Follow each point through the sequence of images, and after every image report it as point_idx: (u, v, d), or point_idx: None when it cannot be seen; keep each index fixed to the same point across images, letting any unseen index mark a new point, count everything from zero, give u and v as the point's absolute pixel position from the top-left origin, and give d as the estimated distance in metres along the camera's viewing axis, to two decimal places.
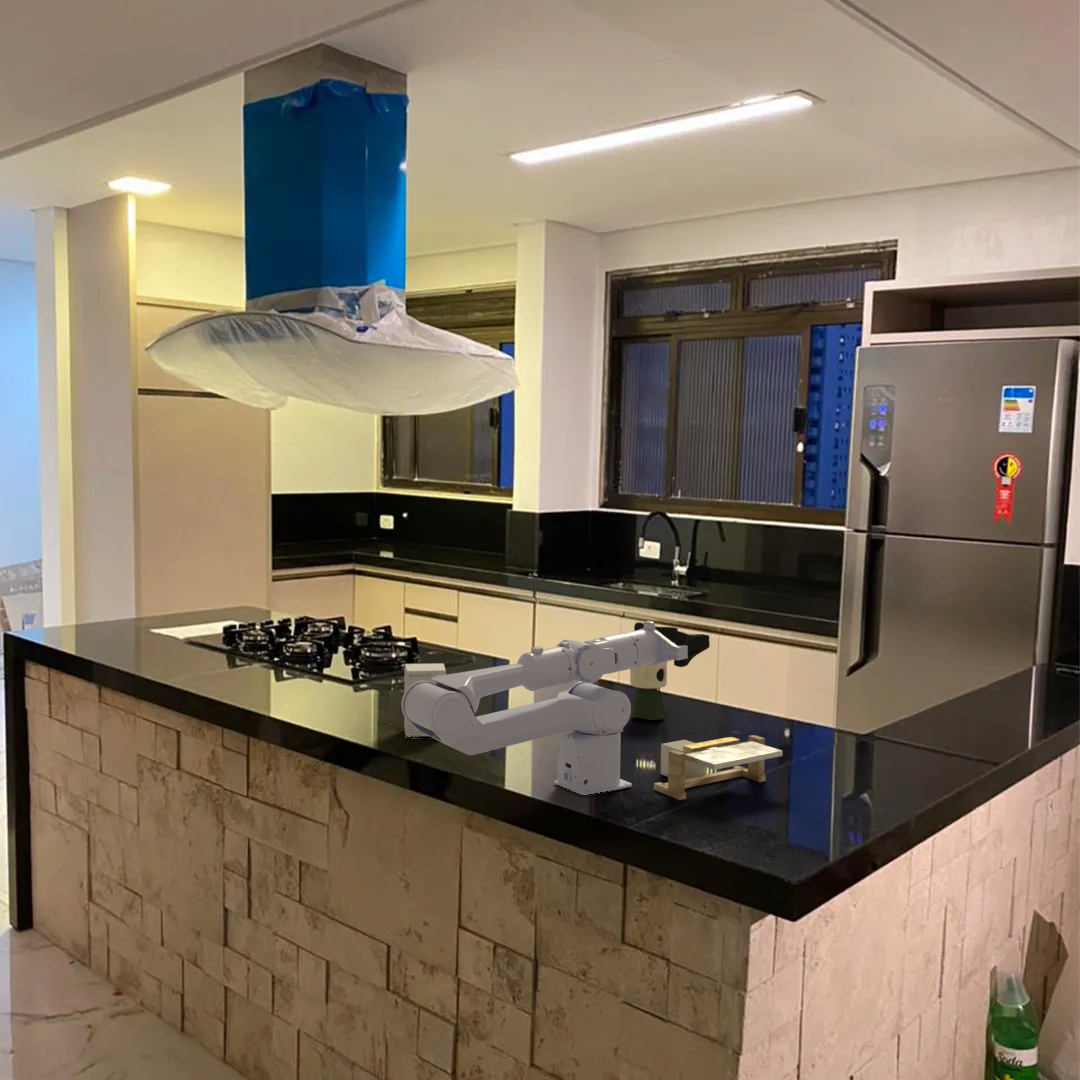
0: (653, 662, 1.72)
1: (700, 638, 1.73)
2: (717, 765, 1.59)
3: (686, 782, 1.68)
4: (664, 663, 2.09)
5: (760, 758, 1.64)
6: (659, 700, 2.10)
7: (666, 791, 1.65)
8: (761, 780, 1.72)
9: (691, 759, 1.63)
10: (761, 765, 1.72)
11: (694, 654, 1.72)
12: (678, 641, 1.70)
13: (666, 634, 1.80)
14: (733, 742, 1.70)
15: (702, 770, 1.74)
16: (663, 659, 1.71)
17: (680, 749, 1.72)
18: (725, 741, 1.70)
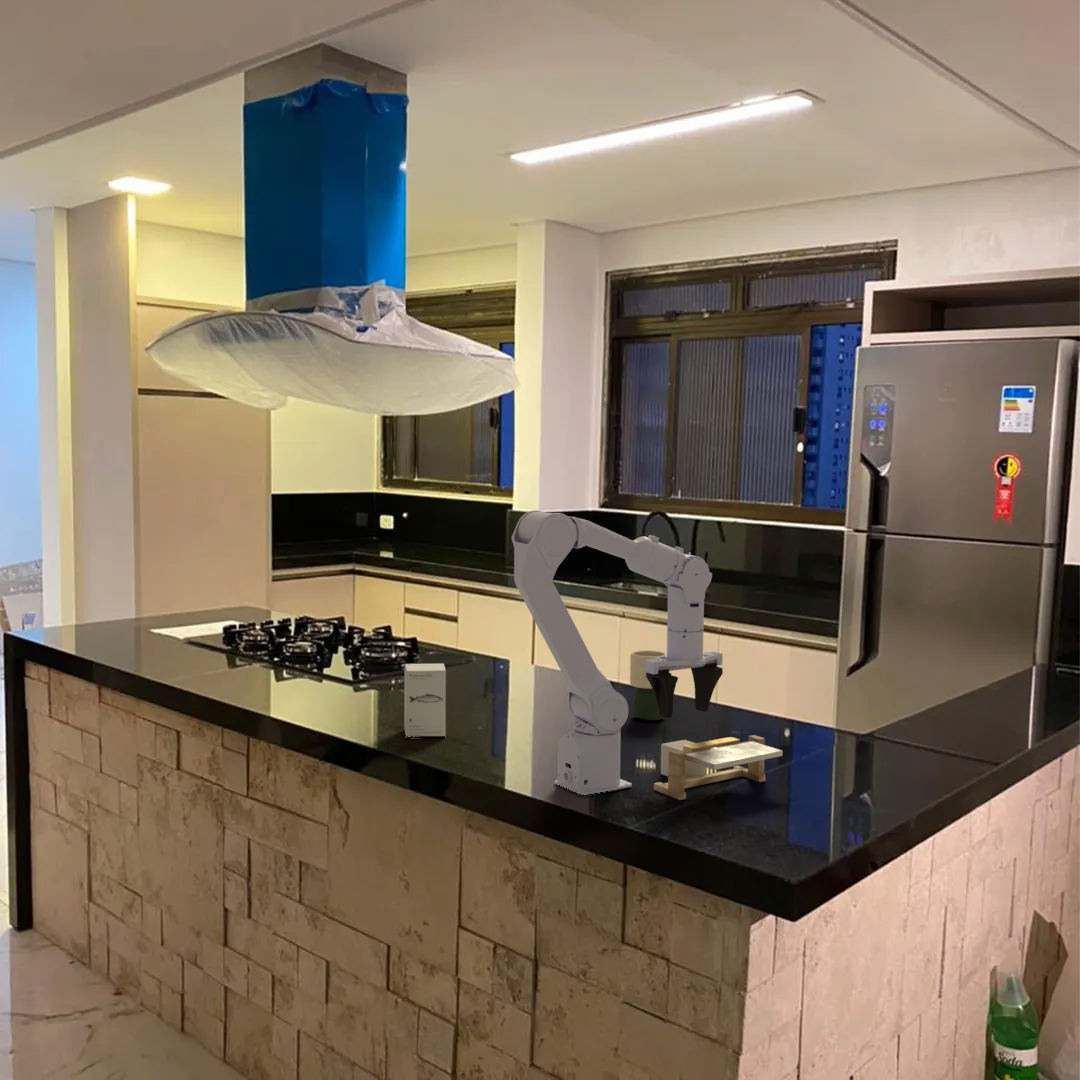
0: None
1: (666, 705, 1.71)
2: (717, 765, 1.59)
3: (686, 782, 1.68)
4: None
5: (760, 758, 1.64)
6: None
7: (666, 791, 1.65)
8: (761, 780, 1.72)
9: (691, 759, 1.63)
10: (761, 765, 1.72)
11: (654, 691, 1.72)
12: (667, 675, 1.70)
13: (702, 696, 1.76)
14: (733, 742, 1.70)
15: (702, 770, 1.74)
16: None
17: (680, 749, 1.72)
18: (725, 741, 1.70)
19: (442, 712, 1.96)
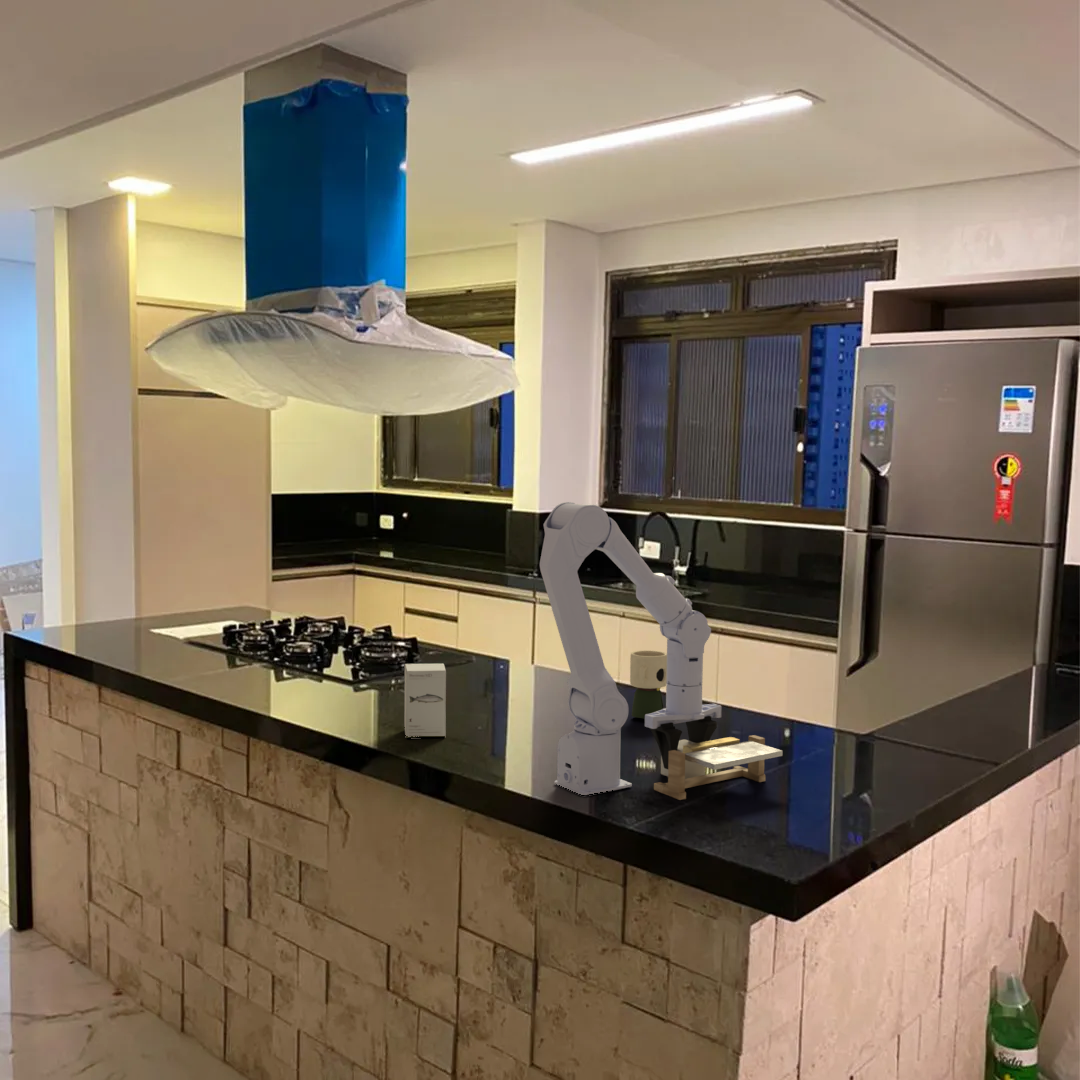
0: None
1: None
2: (717, 765, 1.59)
3: (686, 782, 1.68)
4: (664, 663, 2.09)
5: (760, 758, 1.64)
6: (659, 700, 2.10)
7: (666, 791, 1.65)
8: (761, 780, 1.72)
9: (691, 759, 1.63)
10: (761, 765, 1.72)
11: (658, 743, 1.74)
12: (671, 728, 1.71)
13: None
14: (733, 742, 1.70)
15: (702, 770, 1.74)
16: (662, 713, 1.74)
17: (680, 749, 1.72)
18: (725, 741, 1.70)
19: (442, 712, 1.96)
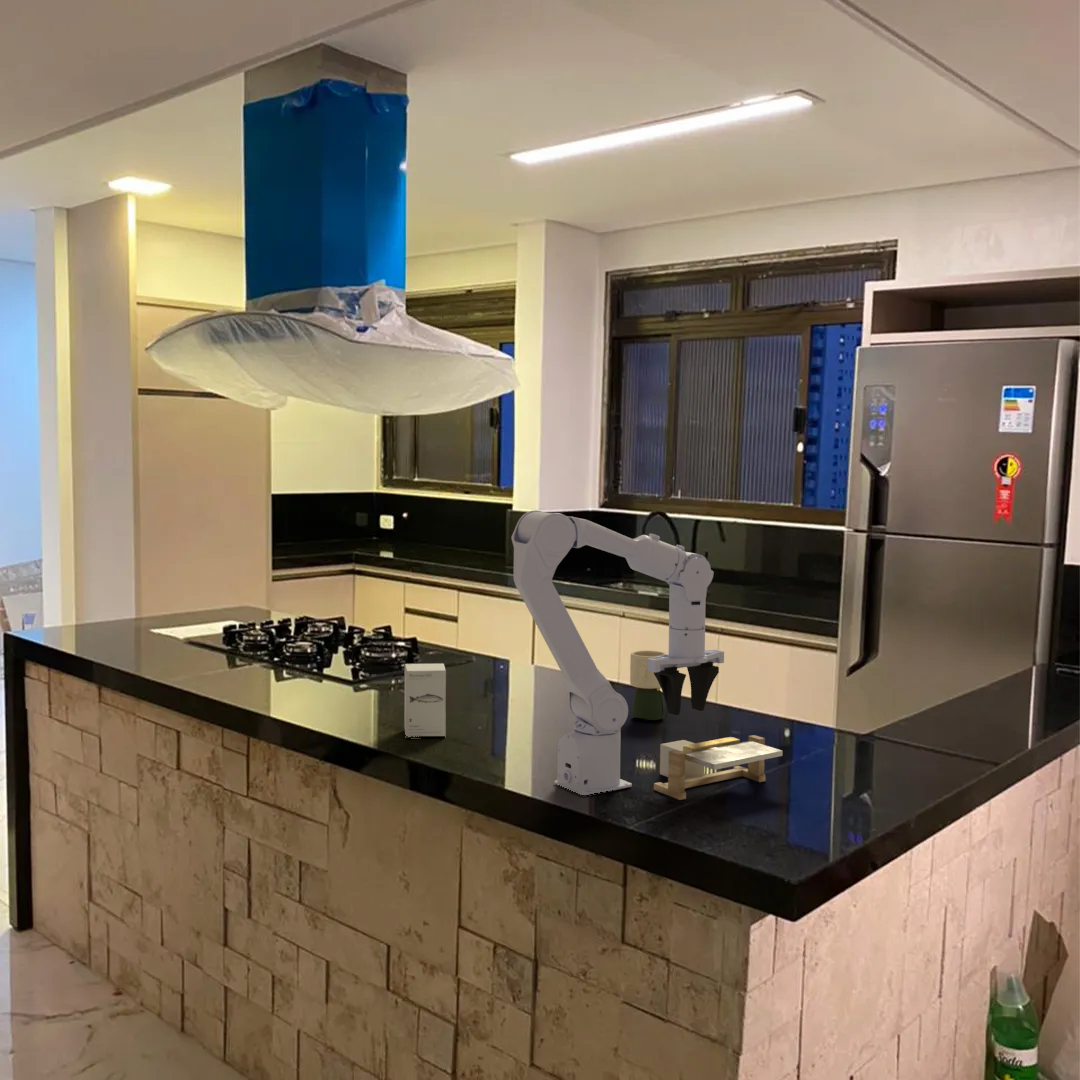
0: None
1: (674, 702, 1.71)
2: (717, 765, 1.59)
3: (686, 782, 1.68)
4: None
5: (760, 758, 1.64)
6: (659, 700, 2.10)
7: (666, 791, 1.65)
8: (761, 780, 1.72)
9: (691, 759, 1.63)
10: (761, 765, 1.72)
11: (662, 688, 1.73)
12: (674, 672, 1.71)
13: (698, 695, 1.75)
14: (733, 742, 1.70)
15: (701, 770, 1.74)
16: None
17: (679, 749, 1.72)
18: (725, 741, 1.70)
19: (442, 712, 1.96)
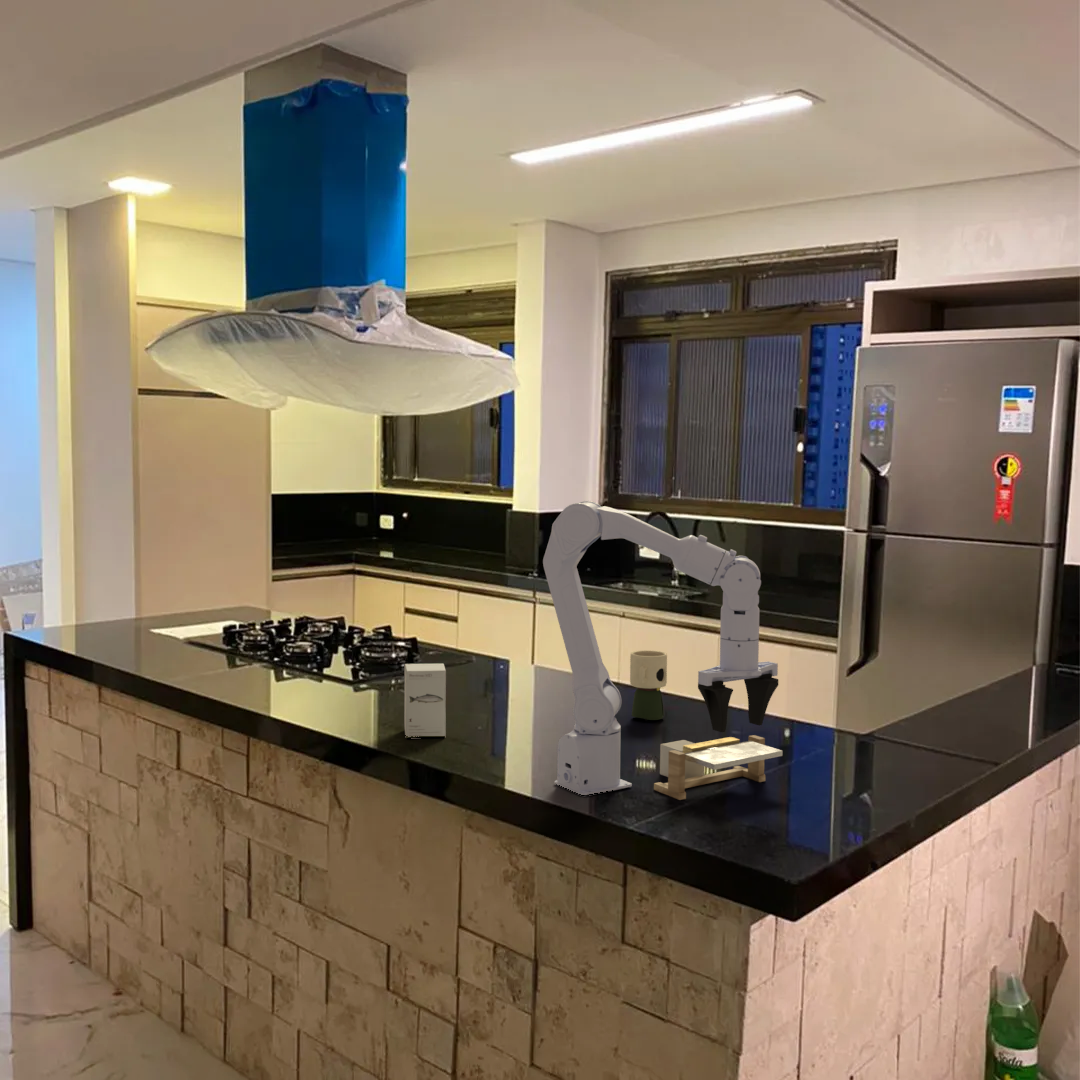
0: None
1: (720, 718, 1.61)
2: (717, 765, 1.59)
3: (686, 782, 1.68)
4: (664, 663, 2.09)
5: (760, 758, 1.64)
6: (659, 700, 2.10)
7: (666, 791, 1.65)
8: (761, 780, 1.72)
9: (691, 759, 1.63)
10: (761, 765, 1.72)
11: (707, 703, 1.62)
12: (721, 687, 1.60)
13: (756, 709, 1.66)
14: (733, 742, 1.70)
15: (701, 770, 1.74)
16: (715, 670, 1.63)
17: (679, 749, 1.72)
18: (725, 741, 1.70)
19: (442, 712, 1.96)
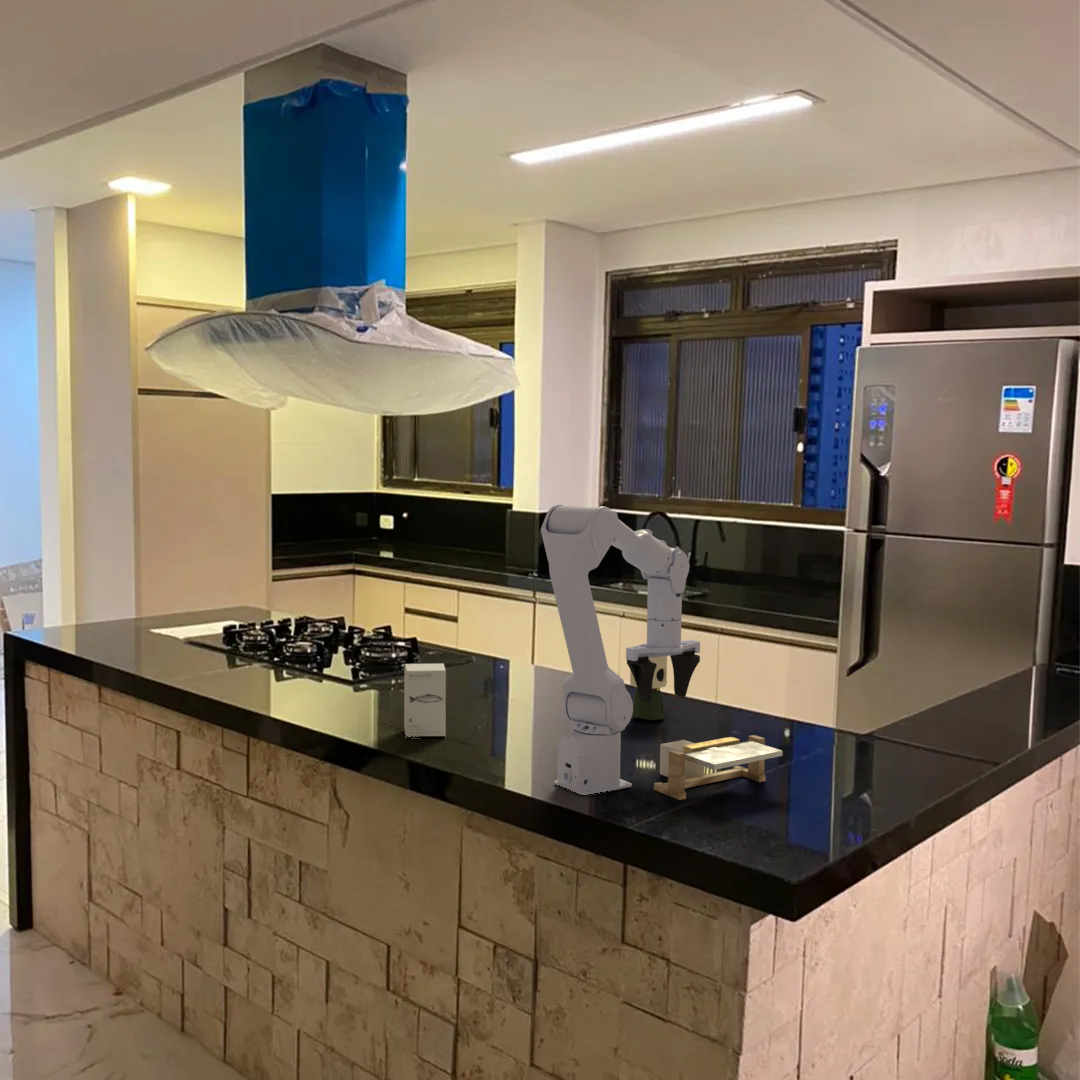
0: None
1: (646, 690, 1.80)
2: (717, 765, 1.59)
3: (686, 782, 1.68)
4: (664, 663, 2.09)
5: (760, 758, 1.64)
6: (659, 700, 2.10)
7: (666, 791, 1.65)
8: (761, 780, 1.72)
9: (691, 759, 1.63)
10: (761, 765, 1.72)
11: (635, 677, 1.81)
12: (646, 662, 1.79)
13: (680, 683, 1.85)
14: (733, 742, 1.70)
15: (701, 770, 1.74)
16: (643, 647, 1.82)
17: (679, 749, 1.72)
18: (725, 741, 1.70)
19: (442, 712, 1.96)
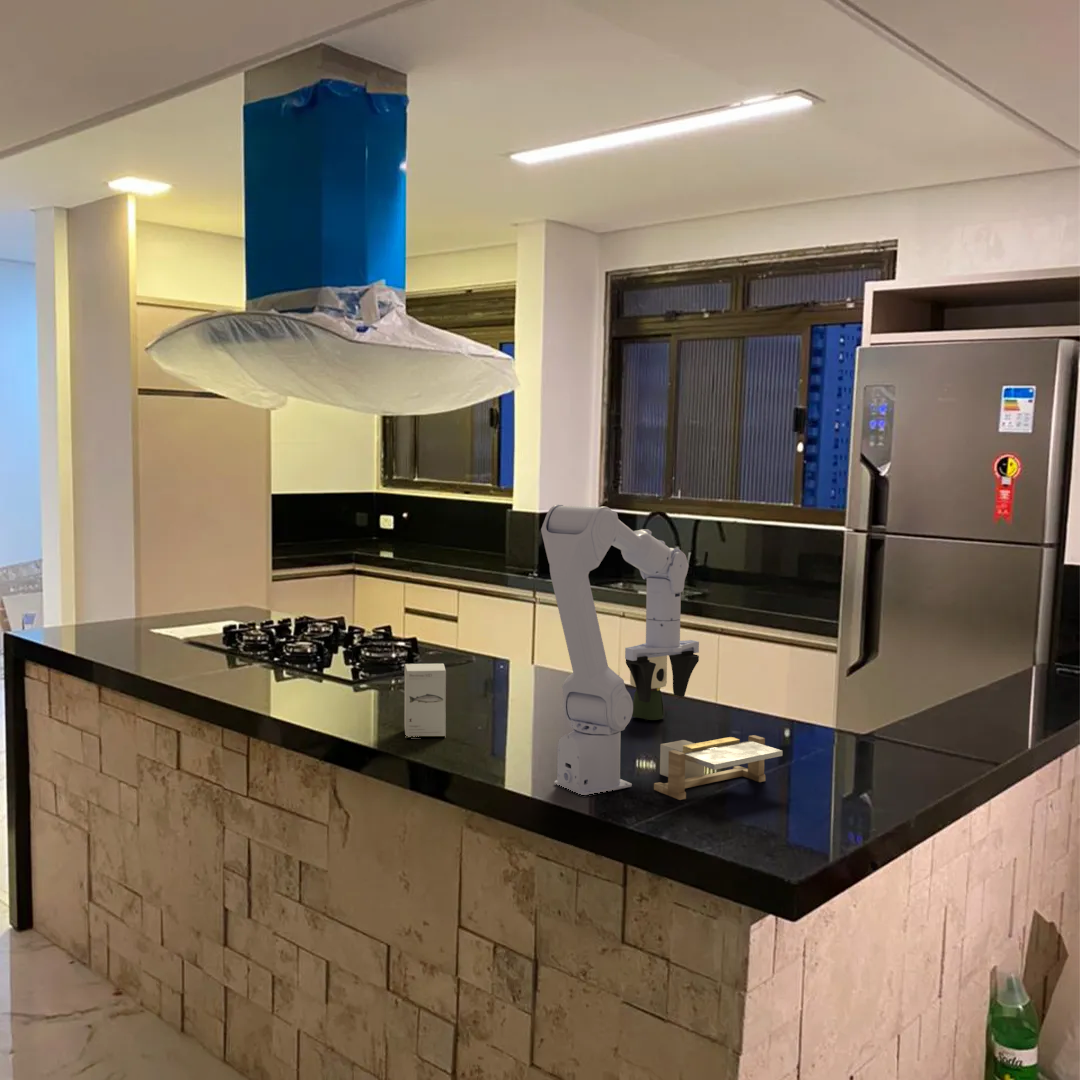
0: None
1: (645, 690, 1.80)
2: (717, 765, 1.59)
3: (686, 782, 1.68)
4: (664, 663, 2.09)
5: (760, 758, 1.64)
6: (659, 700, 2.10)
7: (666, 791, 1.65)
8: (761, 780, 1.72)
9: (691, 759, 1.63)
10: (761, 765, 1.72)
11: (634, 677, 1.81)
12: (645, 662, 1.79)
13: (679, 682, 1.85)
14: (733, 742, 1.70)
15: (701, 770, 1.74)
16: (642, 647, 1.82)
17: (679, 749, 1.72)
18: (725, 741, 1.70)
19: (442, 712, 1.96)
